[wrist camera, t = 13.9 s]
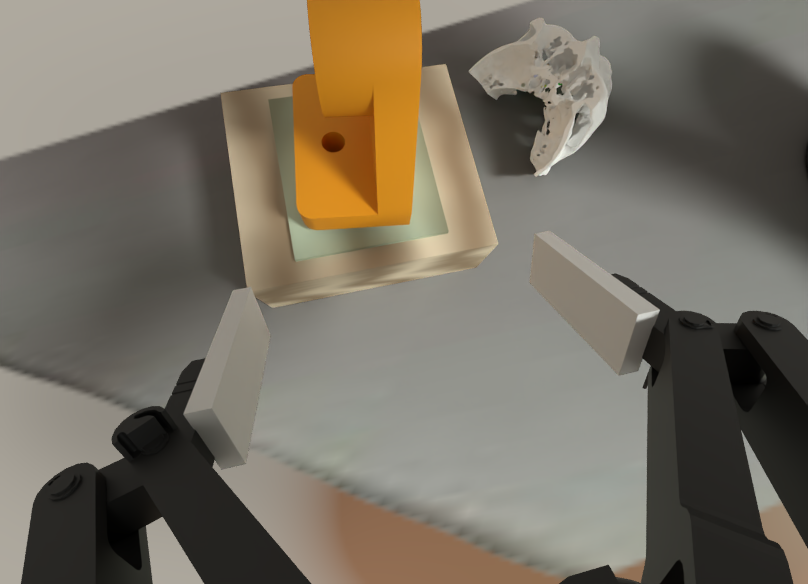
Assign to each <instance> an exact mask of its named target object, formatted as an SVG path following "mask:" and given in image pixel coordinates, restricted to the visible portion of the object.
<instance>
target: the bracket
mask: <svg viewBox="0 0 808 584" xmlns="http://www.w3.org/2000/svg"><path fill="white" fill-rule="evenodd" d="M307 8H308V19H309V30H310V39H311V47H312V55H313V63H314V70H315V74H305V75H301V76H299V77H298V78H296V79H295V81H294V82H293V85H292V92H293V121H294V150H295V179H296V206H297V209H298V211H299V213H300V215H301V218H302V220H303V222H304V223H305V225H306V226H307V227H308V228H310V229H313V230H330V229H347V228H363V227H379V226H395V225H409V224H410V219H411V214H412V203H413V188H414V174H415V159H416V145H417V130H418V116H419V101H420V87H421V69H422V26H421V10H420V0H307Z"/></svg>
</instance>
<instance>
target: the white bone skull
mask: <svg viewBox="0 0 808 584" xmlns="http://www.w3.org/2000/svg"><path fill="white" fill-rule="evenodd" d="M599 47H600V40H599V38H598V37H596V36H593V37H592V38H590V39H588V40H585V41H583V42H580V41H578V40H576V39H575V38H574V37H573V35H572V34H571V33H570V32H568V31H567V30H566V29H564V28H562V27H560V26H557V25H549V24H546V23H545V22H544V19H543V18H537V19H535V20H533V21H531V22H530V29H529V31H528V32H527V33H526V34H525V35H524V36H523V37H521V38H520V39H519V40H518V41H517V42H513V43H510V44H507V45H504V46H502V47H499V48H497V49H495V50H493V51H492V52H490V53H489V54H487V55H486V56H484V57H483V58H482V59H481V60H480V61H478V62H477V63H476V64H475V65H474V66H473V67H472V68H471V69H470V70H469V73H470V74H471V75H472V76H473V77H474V78H475V79H477V81H478V82H479V83H480V84H481V85H482V87H483V88H484V89H485V91H486V92H487V94H488V95H490V96H491V97H493V98H494V99H496V100H497V99H498V97H499V96H500V95H503V94H509V95H516V94H517V91H515V90H517V89H518V90H520V91H524V92H526V91H527V92H529V93H531V92H532V91H534V92H535V94H534V95H535V96H536V97H539V98H541V99H543V102H545V105H546V106H547V107H544V109H543V110H544V118H545V122H544V125H543V127H542V131H541V132H540V131H539V130H538V131H537V134H536V137H535V141H534V146H533V148H532V150H531V156H530V160H531V162H532V164H533V165H534V167H535V169H536V173H534V175H535V177H536V176H538V175H540V176H542V175H543V174H544V175H547V173H548V172H549V170H550V169H551V166H552V165H554V164H555V163H557V162H558V161H559V160H561V159H563V158H565V157H567V156H569V155H571V154H573V153H575V152H576V151H577V150H578V149H579V148H580V147H581V146H582V145H583V144H584V143H585V142H586V141H587V140H588V139H589V137H590V136H591V135H592V134H593V132H594V131H595V130H596V129H597V128H598V126H599V125H600V124H601V123H602V121H603V120H604V118H605V115H606V111H607V103H608V98H609V96H610V93H611V90H612V80H611V75H612V70H611V64H610V62H609V61H608V59H607V58H605V57H604V56H601V55H600V51H599ZM543 49H544V51H545V54H546V55H547V56H548V59H546V60H545V61H544V60H543V59H542V54H543ZM539 56H540V58H539ZM535 57H538V58H535ZM547 63H549V65H547ZM561 85H562V88H561V90H562V93H564V95H561V94H558V95H557V94H556V92H557V90H556V88H558V87H560V86H561ZM541 87H542V88H541ZM544 87H545V89H546V88H550V89H551V90H550V92H549V93H548V91H547V92H545V89H544V91H543V88H544ZM542 91H543V92H542ZM548 94H549V95H548ZM571 95H573V96H571ZM548 101H550V102H551V104H548ZM545 108H546V110H545ZM576 113H579V115H578V117H577V120H576V122H575V124H574V121H575V115H576ZM553 118H554V119H553ZM549 121H550V125H549V128H547V123H548V122H549ZM573 126H574V127H573ZM547 129H549V131H550V133H549V134H548V135H547V134H546V131H547ZM543 135H544V136H543ZM580 141H581V142H580Z"/></svg>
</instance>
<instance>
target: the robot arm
mask: <svg viewBox="0 0 808 584" xmlns="http://www.w3.org/2000/svg"><path fill="white" fill-rule="evenodd" d="M807 168H808V149H807ZM530 284H531V285H532V286H533V287H534V288H535V289H536V290H537V291H538V292H539V293H540V294H541V295H542V296H543V297H544V298H545V300H546V301H547V302H548V303H549V304H550V305H551V306H552V307H553V308H554V309H555V310H556V311H557V312H558V313H559V314H560V315H561V316H562V317H563V318H564V319H565V320H566V321H567V322H568V323H569V324H570V325H571V327H572V328H573V329H574V330H575V331H576V332H577V333H578V334H579V335H580V336H581V337H582V338H583V339H584V340H585V341H586V342H587V343H588V344H589V345H590V346H591V347H592V348H593V349H594V350H595V351H596V352H597V354H598V355H599V356H600V357H601V358H602V359H603V360H604V361H605V362H606V363H607V364H608V365H609V366H610V367H611V368H612V369H613V370H614V371H615V372H616V373H617V374H618V375H624V374H628V373H632V372H636V371H638V370H639V367H640V364H641V362H642V359H644V360H645V361H646V362H647V363H649V364H650V365H651V367H650V369H649V372H648V374H647V377H646V380H645V382H644V385H643V388H644V389H646V388H647V386H648V424H647V525H646V561H645V566H644V571H643V575H642V580H641V583H639V582H636V581H633V580H628V579H624V578H618V577H615V575H614V573H613V572H612V570H611V568H610V566H609V565H606V566H603V567H599V568H596V569H593V570H589V571H586V572H582V573H579V574H576V575H572V576H569V577H567V578H566V579H565V580H563V581H562V582H561V583H559V584H793V580H792V577H791V573H790V569H789V565H788V561H787V559H786V556H785V553H784V551H783V549H782V548H781V547H780V545H779V544H778V543H776V542H774V541H771V540H768V539H767V537H766V536H765V534H764V531H763V528H762V523H761V519H760V514H759V510H758V505H757V501H756V496H755V492H754V487H753V483H752V478H751V474H750V469H749V465H748V460H747V455H746V451H745V446H744V442H743V437H742V433H741V430H742V432H743V434H744V435H745V437H746V439H747V441H748V443H749V444H750V446H751V448H752V450H753V452H754V453H755V455H756V457H757V459H758V460H759V462H760V464H761V466H762V468H763V469H764V471H765V473H766V475H767V477H768V478H769V480H770V482H771V484H772V485H773V487H774V489H775V491H776V493H777V494H778V496H779V498H780V500H781V502H782V503H783V505H784V507H785V508H786V510H787V512H788V514H789V516H790V518H791V519H792V521H793V523H794V525H795V526H796V528H797V530H798V532H799V534H800V535H801V537H802V539H803V541H804V542H805V544H806V546H807V548H808V340H807V339H806V338H805V337H804V336H803V334H802V333H801V332H800V331H799V330H798V329H797V328H796V327H795V326H794V325H793V324H792V323H790V322H789V321H788V320H786V319H784V318H782V317H780V316H778V315H775V314H771V313H768V312H761V311H747V312H745V313H742V315H741V316H740V318H739V320H738V322H737V323H715V322H714V321H713V320H711V319H710V318H709V317H706V316H704V315H702V314H699V313H695V312H691V311H675V310H674V309H672V308H671V307H669V306H668V305H666V304H665V303H663V302H662V301H661V300H659V299H658V298H656V297H655V296H653V295H652V294H650V293H647V291H646V290H645V289H643V288H642V287H639V285H637V284H636V283H634V282H633V281H631V280H630V279H628V278H626V277H623V276H621V275H618V274H609V273H608V272H606V271H605V270H604V269H602V268H601V267H599V266H598V265H597V264H595V263H594V262H593V261H591V260H590V259H588V258H587V257H586V256H584V255H583V254H581V253H580V252H579V251H577V250H576V249H574V248H573V247H572V246H570V245H569V244H567V243H566V242H565V241H563V240H562V239H560V238H559V237H558V236H556V235H555V234H553V233H552V232H551V231H546V232H541V233H536V234H535V235H534V245H533V255H532V265H531V275H530ZM270 337H271V335H270V332H269V330H268V327H267V325H266V322H265V320H264V318H263V315H262V313H261V310H260V308H259V305H258V303H257V300H256V298H255V295H254V293H253V291H252V288H251V287H248V288H243V289H237V290H233V291H232V294H231V296H230V299H229V301H228V304H227V306H226V309H225V311H224V314H223V316H222V319H221V321H220V324H219V326H218V329H217V331H216V334H215V336H214V339H213V341H212V344H211V346H210V349H209V351H208V354H207V356H206V358H205V359H200V360H195V361H192V362H191V363H190V364H189V365H188V366H187V367H186V368H185V369H184V370H183V371H182V373H181V375H180V377H179V379H178V381H177V383H176V384H177V386H175V388H174V390H173V392H172V396H170V399H169V401H168V403H167V405H166V407H165V409H164V408H162V407H160V406H151V407H148V408H144V409H141V410H139V411H137V412H136V413H134V414H132V415H130V416H129V417H128V418H126V419H125V420H124V421H123V422H122V423H121V424H120V425H119V426H118V427H117V428H116V430H115V431H114V434H113V436H112V444H113V445H114V447H115V448H116V449H117V450H118V451H119V452H120V453H121V454H122V455H123V456H124V457H125V458H123V459H121V460H119V461H117V462H114V463H112V464H110V465H108V466H106V467H104V468H102V469H100V470H98V469H97V468H96V467H94V466H93V465H92V464H89V463H80V464H76V465H74V466H71V467H69V468H66V469H65V470H63V471H62V472H60V473H58V474H57V475H55V476H54V477H53V478H52V479H51V480H49V481H48V482H47V483H46V484H45V485H44V486H43V487H42V489H41V490H40V491H39V493H38V494H37V496H36V498H35V500H34V503H33V508H32V514H31V521H30V528H29V535H28V541H27V547H26V554H25V562H24V567H23V574H22V581H21V584H153V583H152V575H151V566H150V558H149V549H148V541H147V534H146V525H148V524H150V523H151V522H153V521H155V520H157V519H159V518H161V517H163V518H164V519H165V521H166V522H167V524H168V526H169V527H170V529H171V531H172V532H173V534H174V536H175V537H176V539H177V540H178V542H179V543H180V545H181V547H182V548H183V550H184V552H185V553H186V555H187V556H188V558H189V560H190V561H191V563H192V564H193V566H194V568H195V569H196V571H197V573H198V574H199V576H200V577H201V579H202V581H203V582H204V584H311V583H310V582H309V580H308V579H307V578H306V577H305V576H304V575H303V573H302V572H301V571H300V570H299V569H298V568H297V566H296V565H295V564H294V563H293V562H292V561H291V559H290V558H289V557H288V556H287V555H286V553H285V552H284V551H283V550H282V549H281V548H280V546H279V545H278V544H277V543H276V542H275V540H274V539H273V538H272V537H271V536H270V535H269V533H268V532H267V531H266V530H265V529H264V528H263V526H262V525H261V524H260V523H259V522H258V521H257V519H256V518H255V517H254V516H253V515H252V514H251V512H250V511H249V510H248V509H247V508H246V507H245V505H244V504H243V503H242V502H241V501H240V499H239V498H238V497H237V496H236V495H235V494H234V493H233V491H232V490H231V489H230V488H229V487H228V485H227V484H226V483H225V482H224V481H223V479H222V478H221V477H220V476H219V475H218V473H217V472H216V471H215V470H214V469H213V468H212V467H213V463H214V460H215V461H216V462H217V464H218V465H219V467H220V468H221V470H223V469H227V468H231V467H235V466H239V465H244V464H246V461H247V456H248V451H249V446H250V441H251V435H252V430H253V425H254V420H255V415H256V410H257V404H258V399H259V394H260V389H261V384H262V378H263V373H264V368H265V363H266V358H267V352H268V347H269V342H270Z"/></svg>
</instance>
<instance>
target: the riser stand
mask: <svg viewBox="0 0 808 584" xmlns="http://www.w3.org/2000/svg"><path fill="white" fill-rule="evenodd" d="M292 85H293V84H287V85H279V86H271V87H263V88H256V89H248V90H240V91H232V92H224V93H221V100H222V108H223V115H224V122H225V130H226V137H227V145H228V152H229V159H230V167H231V174H232V182H233V189H234V196H235V204H236V211H237V219H238V226H239V233H240V241H241V248H242V256H243V263H244V270H245V278H246V285H247V288H248V287H251V288H252V291H253V293H254V295H255V297H256V298H258V299H259V300H261V301H262V302H264V303H266V304H267V305H269V306H270V307H272V308H275V307H280V306H285V305H291V304H296V303H301V302H306V301H311V300H316V299H321V298H326V297H331V296H336V295H341V294H346V293H351V292H356V291H361V290H366V289H371V288H376V287H381V286H386V285H391V284H396V283H401V282H406V281H411V280H416V279H421V278H426V277H431V276H436V275H441V274H446V273H451V272H456V271H461V270H466V269H471V268H476V267H477V266H478V265H479V264H480V263H481V262H482V261H483V260H484V259H485V258H486V257H487V256H488V254H489V253H490V252H491V251H492V250H493V249H494V248H495V247H496V246H497V245H498V241H497V238H496V234H495V231H494V227H493V224H492V220H491V217H490V214H489V210H488V207H487V203H486V200H485V197H484V193H483V190H482V186H481V183H480V179H479V176H478V173H477V169H476V166H475V162H474V159H473V155H472V152H471V149H470V145H469V142H468V138H467V135H466V132H465V128H464V125H463V121H462V118H461V114H460V111H459V108H458V104H457V101H456V97H455V94H454V90H453V87H452V84H451V80H450V77H449V73H448V70H447V67H446V64H442V65H435V66H427V67H422V69H421V87H420V101H419V116H418V130H417V145H416V159H415V174H414V188H413V203H412V214H411V219H410V224H409V225H395V226H379V227H363V228H347V229H330V230H313V229H310V228H308V227H307V226H306V225H305V223H304V222H303V220H302V218H301V215H300V213H299V211H298V209H297V206H296V179H295V150H294V121H293V92H292Z"/></svg>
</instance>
